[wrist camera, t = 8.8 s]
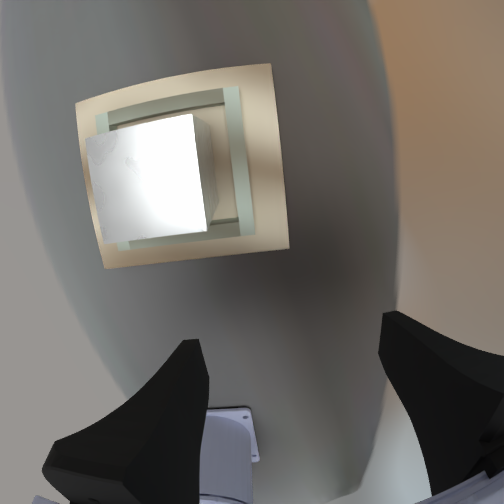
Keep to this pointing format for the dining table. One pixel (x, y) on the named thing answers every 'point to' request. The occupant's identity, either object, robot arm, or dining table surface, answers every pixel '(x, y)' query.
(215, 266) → the dining table surface
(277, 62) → the dining table surface
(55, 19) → the dining table surface
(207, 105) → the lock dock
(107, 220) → the block
